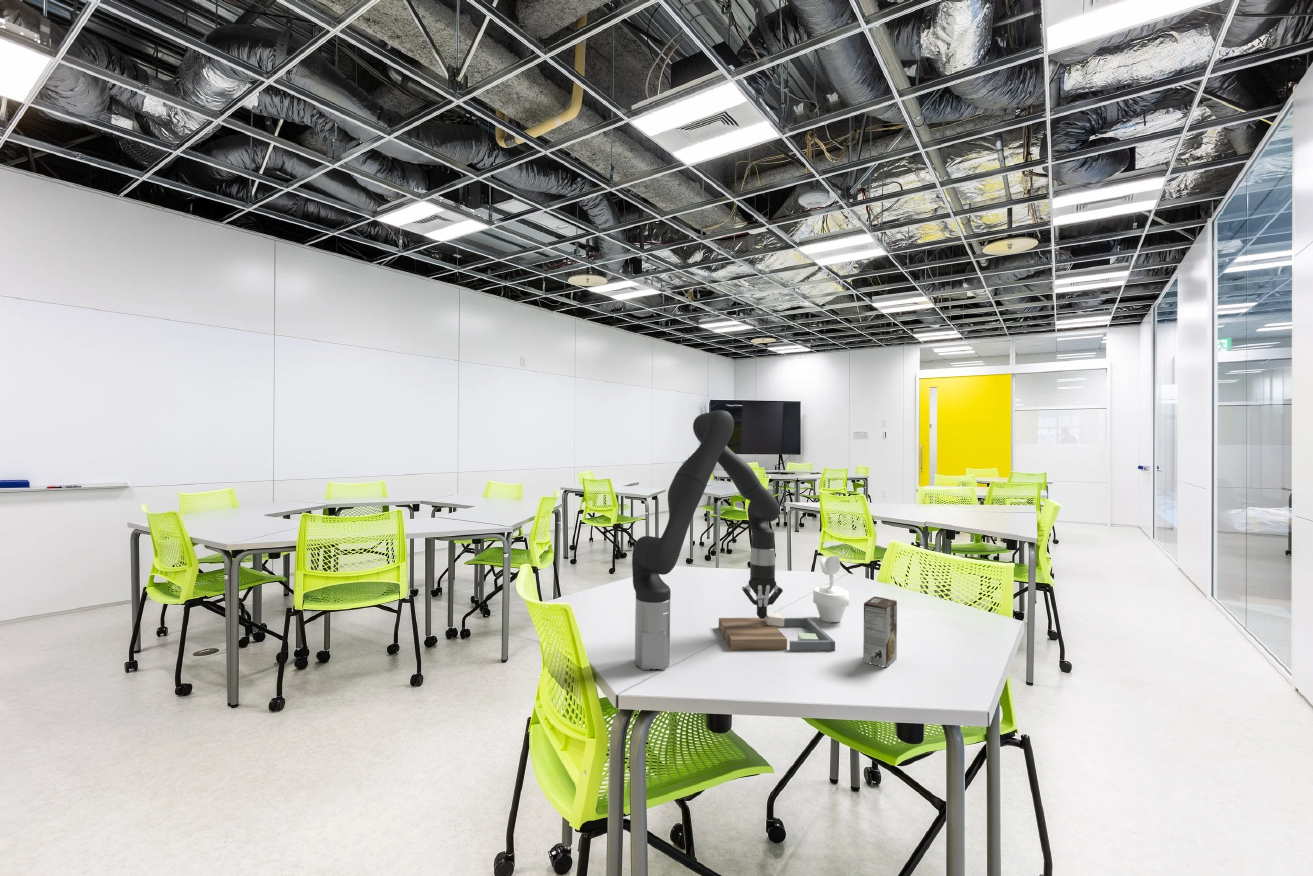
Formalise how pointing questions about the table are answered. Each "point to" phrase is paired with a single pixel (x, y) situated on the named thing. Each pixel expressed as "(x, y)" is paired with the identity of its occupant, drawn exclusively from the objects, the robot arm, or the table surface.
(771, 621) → the tile cream
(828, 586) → the potted plant
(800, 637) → the tile sage
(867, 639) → the coffee box
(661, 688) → the table surface
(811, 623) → the tray
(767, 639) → the board
